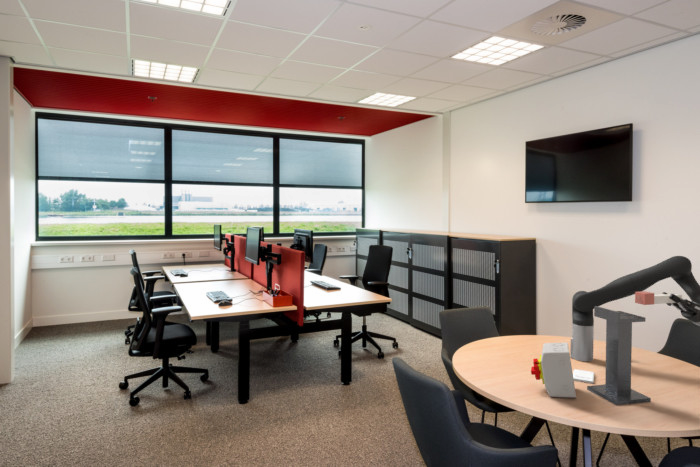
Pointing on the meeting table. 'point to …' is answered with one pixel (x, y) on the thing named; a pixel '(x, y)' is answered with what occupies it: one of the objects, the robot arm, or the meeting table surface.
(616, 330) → the headphone stand
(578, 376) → the external hard drive
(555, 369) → the electrical switch box
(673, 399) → the meeting table surface
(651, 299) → the white bar pink end
